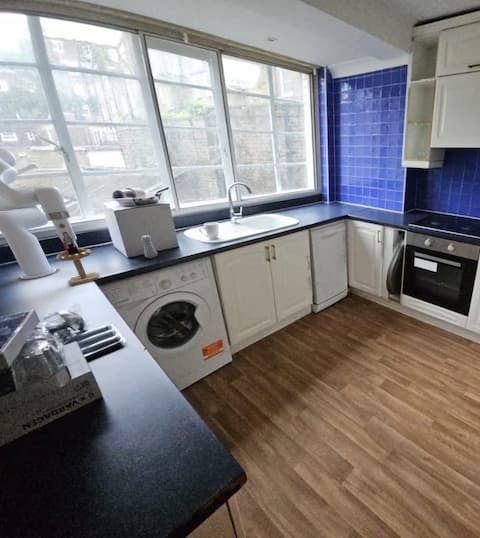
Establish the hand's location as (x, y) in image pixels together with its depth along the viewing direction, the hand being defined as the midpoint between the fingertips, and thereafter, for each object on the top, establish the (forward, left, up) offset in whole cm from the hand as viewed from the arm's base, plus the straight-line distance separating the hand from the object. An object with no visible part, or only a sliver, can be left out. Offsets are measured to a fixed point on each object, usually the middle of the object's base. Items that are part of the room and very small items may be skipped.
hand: (74, 254), depth 136 cm
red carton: (-47, -2, -12) cm, 49 cm away
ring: (+5, 0, +1) cm, 5 cm away
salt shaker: (-5, +29, -12) cm, 32 cm away
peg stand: (+5, 0, -11) cm, 12 cm away
